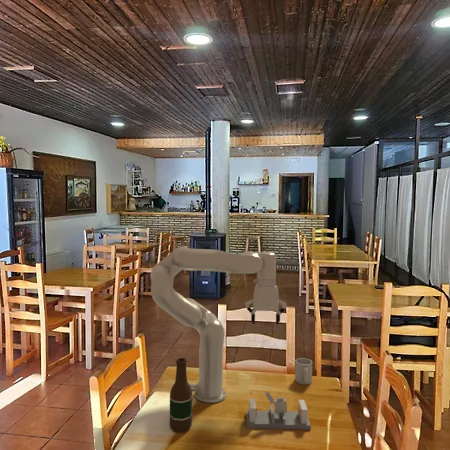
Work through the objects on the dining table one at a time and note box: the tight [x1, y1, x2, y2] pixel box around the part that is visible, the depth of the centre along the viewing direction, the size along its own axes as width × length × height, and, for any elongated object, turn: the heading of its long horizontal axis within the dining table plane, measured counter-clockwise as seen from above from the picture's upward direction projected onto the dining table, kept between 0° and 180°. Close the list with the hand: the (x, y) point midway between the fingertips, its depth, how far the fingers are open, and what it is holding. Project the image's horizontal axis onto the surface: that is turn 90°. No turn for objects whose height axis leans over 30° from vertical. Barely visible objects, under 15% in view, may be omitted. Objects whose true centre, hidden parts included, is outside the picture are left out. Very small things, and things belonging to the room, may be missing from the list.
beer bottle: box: [169, 357, 193, 434], centre depth 140 cm, size 8×8×24 cm
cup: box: [294, 357, 313, 386], centre depth 176 cm, size 7×10×9 cm
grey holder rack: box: [245, 398, 312, 431], centre depth 145 cm, size 22×9×6 cm, turn 89°
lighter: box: [264, 391, 288, 414], centre depth 145 cm, size 7×2×8 cm, turn 93°
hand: (265, 323), depth 167 cm, fingers open, 9 cm apart
